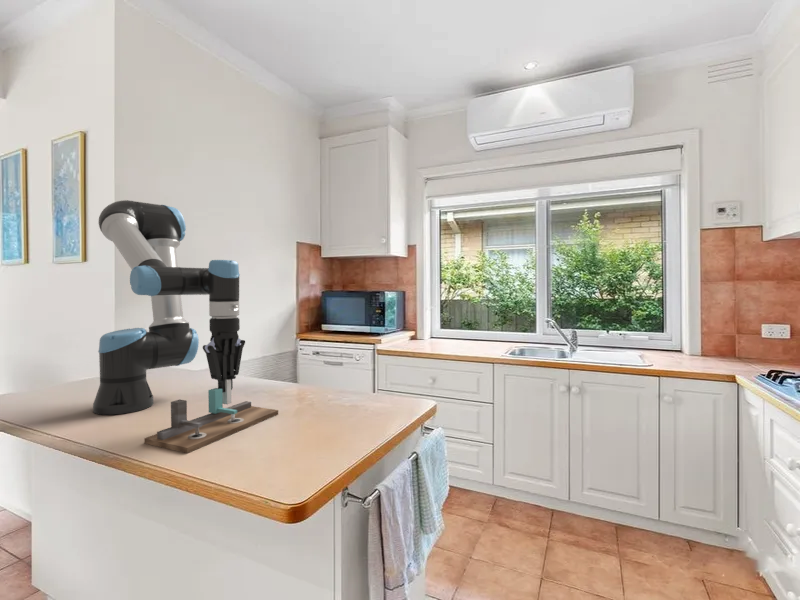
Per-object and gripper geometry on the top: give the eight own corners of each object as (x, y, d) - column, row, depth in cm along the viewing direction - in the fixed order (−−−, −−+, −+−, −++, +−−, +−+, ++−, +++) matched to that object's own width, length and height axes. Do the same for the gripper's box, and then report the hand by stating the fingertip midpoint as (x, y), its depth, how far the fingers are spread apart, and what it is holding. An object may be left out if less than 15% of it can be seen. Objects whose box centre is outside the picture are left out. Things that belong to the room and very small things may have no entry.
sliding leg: (208, 417, 110) (208, 390, 110) (216, 415, 112) (215, 388, 112) (232, 421, 107) (232, 393, 106) (239, 419, 109) (239, 391, 109)
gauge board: (144, 443, 97) (143, 405, 96) (240, 408, 124) (240, 379, 124) (187, 453, 91) (187, 413, 91) (278, 414, 119) (278, 383, 118)
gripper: (215, 319, 105) (216, 411, 106) (252, 315, 117) (253, 398, 118) (194, 318, 108) (195, 407, 109) (232, 315, 120) (233, 395, 121)
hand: (225, 403), depth 114 cm, fingers closed
